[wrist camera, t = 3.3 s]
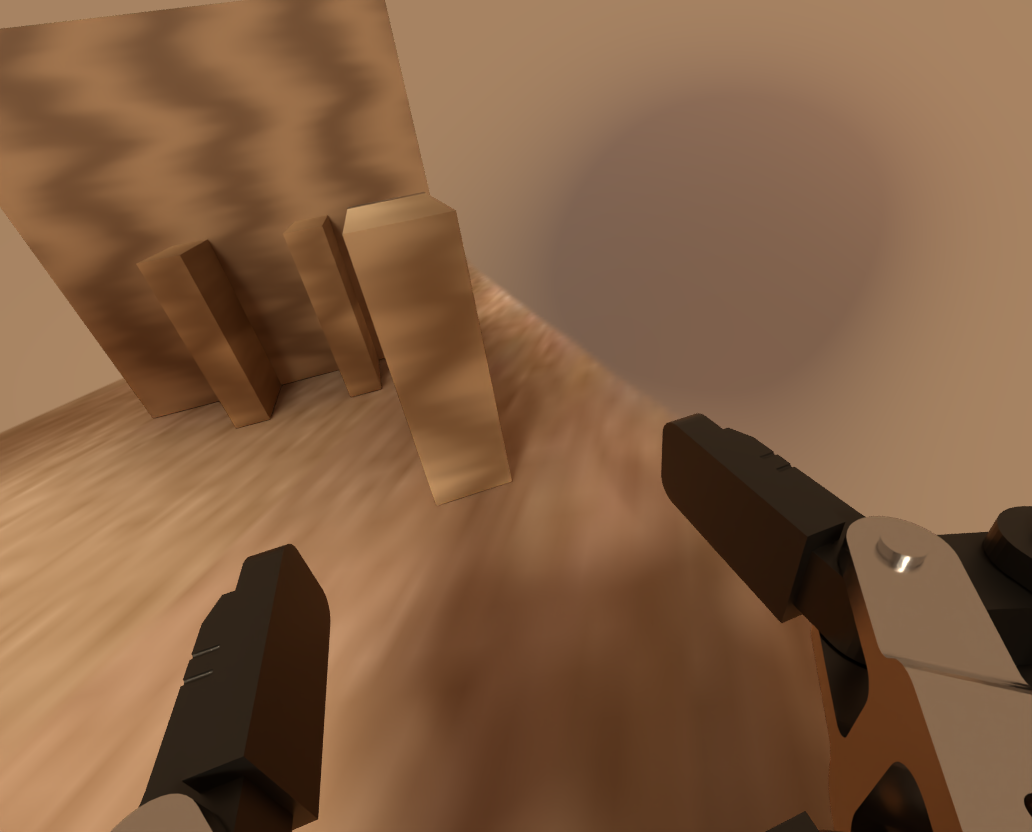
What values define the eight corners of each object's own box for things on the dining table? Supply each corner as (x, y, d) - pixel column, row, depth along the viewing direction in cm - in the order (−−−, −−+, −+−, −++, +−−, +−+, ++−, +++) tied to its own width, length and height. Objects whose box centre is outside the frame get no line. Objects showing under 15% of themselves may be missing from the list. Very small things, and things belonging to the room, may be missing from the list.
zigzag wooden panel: (120, 459, 26) (-248, 12, 15) (163, 404, 32) (-82, 51, 21) (477, 362, 30) (385, -53, 19) (458, 329, 36) (379, -5, 25)
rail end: (436, 506, 19) (342, 234, 13) (416, 414, 25) (347, 207, 19) (511, 481, 19) (455, 210, 13) (473, 398, 26) (423, 191, 20)
